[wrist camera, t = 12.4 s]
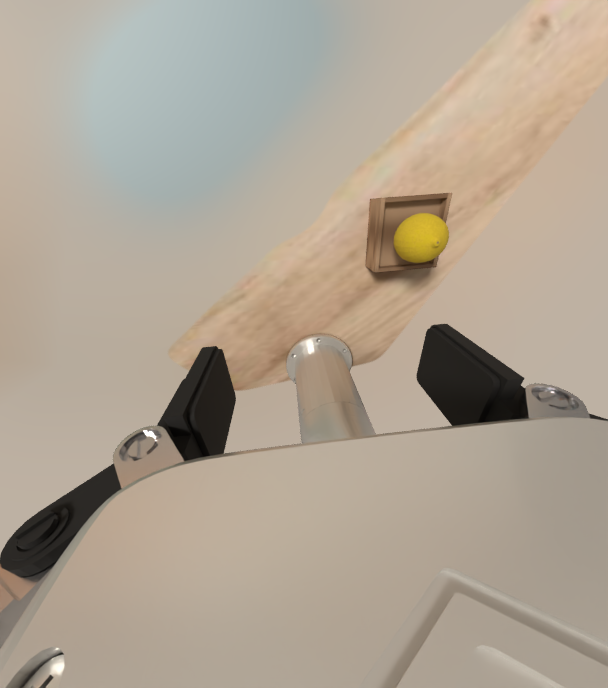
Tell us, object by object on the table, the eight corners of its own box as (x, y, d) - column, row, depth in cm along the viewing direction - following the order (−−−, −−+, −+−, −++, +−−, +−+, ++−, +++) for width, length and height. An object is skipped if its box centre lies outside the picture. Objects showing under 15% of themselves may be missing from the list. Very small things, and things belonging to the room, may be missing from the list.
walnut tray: (421, 261, 37) (436, 266, 34) (365, 265, 37) (374, 272, 33) (433, 194, 33) (452, 192, 29) (370, 198, 32) (381, 198, 29)
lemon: (431, 233, 32) (472, 239, 26) (400, 264, 34) (430, 279, 27) (408, 202, 30) (446, 200, 23) (376, 237, 32) (402, 246, 25)
